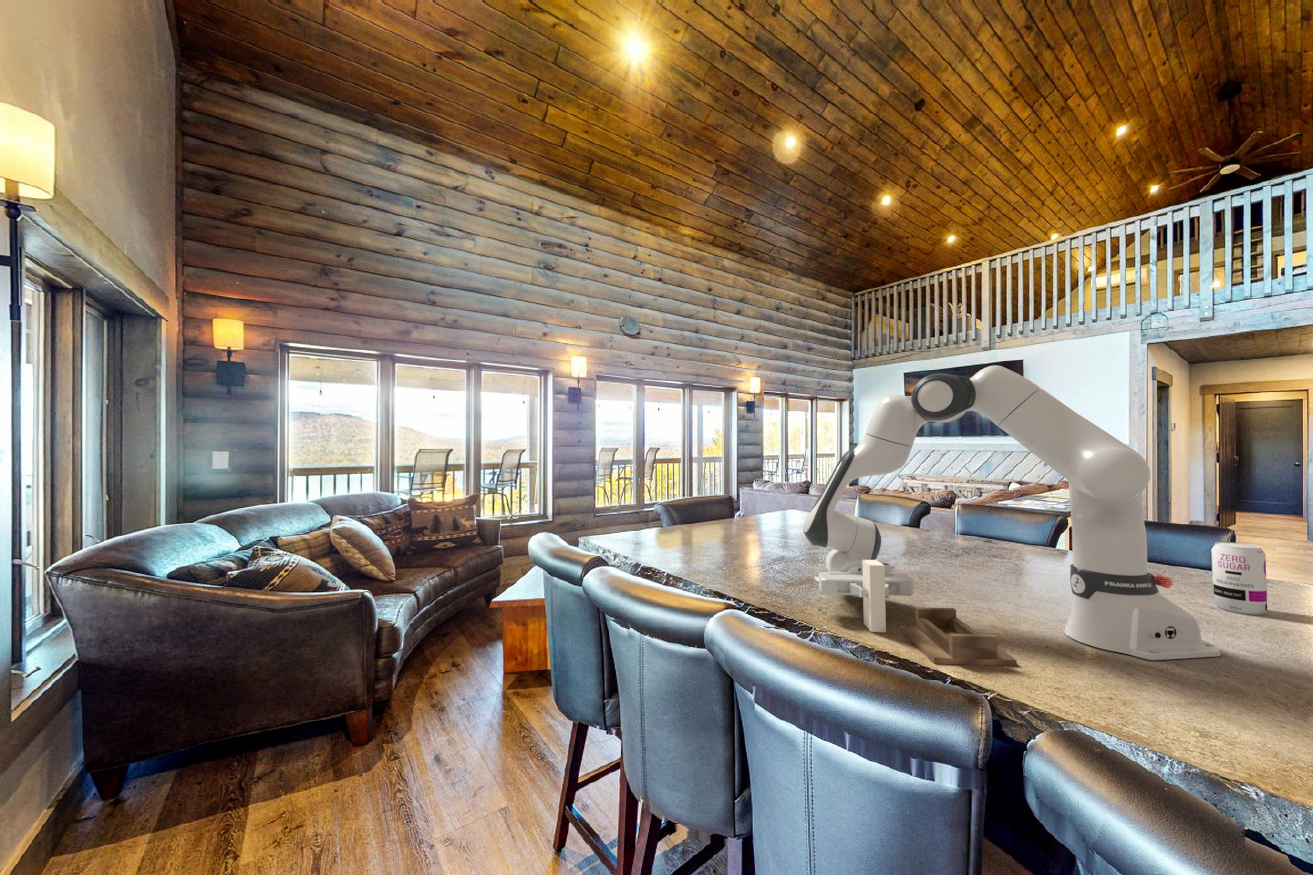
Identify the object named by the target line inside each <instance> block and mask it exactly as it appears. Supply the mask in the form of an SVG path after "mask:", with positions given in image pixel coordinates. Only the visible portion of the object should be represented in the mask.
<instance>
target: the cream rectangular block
mask: <svg viewBox="0 0 1313 875" xmlns="http://www.w3.org/2000/svg"><path fill="white" fill-rule="evenodd" d="M882 563H883V562H880V561H878V560H877V559H876V560H862V564H863V587H865V588H866V589H867V590H868V593H867V594H868V597H862V598H863V599H862V600H863V601H862V603H863V604H862V606H863V607H862V608H863V625H864V626H865V627H866V628H867V629H868V630H869V632H871V633H887V624H886V623H887V621H886V616H887V615H886V614H887V613H886V598H885V565H883V564H882Z"/></svg>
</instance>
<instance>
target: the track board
mask: <svg viewBox="0 0 1313 875" xmlns="http://www.w3.org/2000/svg"><path fill="white" fill-rule="evenodd" d="M914 608H915V610H914V611H915V612H914V613H915V626H911V625H900V626H899V631H900V632H901V633H902V634H903V635H904V636H905V637H906V638H907V639H908V640H909V641H910V642H911V643H912V644H913V645H914V646H915V647H916V648H917V649H918V650H919V651H921V652H922V653H923V655H925V656H926V657H927V658H928V659H929V660H930V662H932V663H933V664H936V665H937V664H938V665H939V664H940V665H942V664H943V665H972V666H974V665H977V666H979V665H980V666H983V665H984V666H1006V667H1007V666H1012V667H1013V666H1014V667H1017V665H1018V663H1017V662H1018V660H1017V659H1016V658H1014V657H1013V656H1012V655H1010V654H1009V653H1007V652H1006V651H1004V650H1003V649H1001V648H1000V647H999V646H998V636H996V635H995V634H989V633H986V634H985V633H979V632H978V631H976V630H975V629H974V628H972V627H970V626H969V625H968V624H966V623H965V622H963V621H962V620H961V619H959V618H957V610H956V609H955V608H954V607H923V606H922V607H921V606H920V607H919V606H918V607H916V606H915V607H914Z"/></svg>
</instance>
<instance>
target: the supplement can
mask: <svg viewBox="0 0 1313 875" xmlns="http://www.w3.org/2000/svg"><path fill="white" fill-rule="evenodd" d="M1210 551H1211V552H1210V553H1211V577H1212V578H1211V583H1212V604H1214V605H1215V606H1216V607H1217V608H1218V609H1220V610H1223V611H1226V612H1232V613H1235V614H1241V615H1251V616H1260V615H1264V614H1265V613H1267V612H1268V589H1267V588H1268V587H1267V584H1268V583H1267V562H1266V553H1265V552H1264V550H1263V548H1262V547H1261V546H1259V545H1256V544H1249V543H1241V542H1231V541H1230V542H1228V541H1224V542H1223V541H1217V542H1216V541H1215V543H1214V545H1213V547H1212V548H1211V550H1210Z"/></svg>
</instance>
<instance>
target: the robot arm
mask: <svg viewBox="0 0 1313 875" xmlns="http://www.w3.org/2000/svg"><path fill="white" fill-rule="evenodd" d="M968 412H974V413H978V414H980V415H982V416H984V417H985V418H987V419H988V420H990V422H992V423H993V424H995V425H996V426H997V428H999V429H1001V430H1002V431H1003V432H1005V433H1006V434H1007V435H1008V436H1010V437H1011V438H1012V439H1014V441H1016V442H1018V443H1019V444H1020V445H1021V446H1022V447H1024V449H1026V450H1028V451H1030V453H1032V454H1033V455H1035V457H1037V458H1038V459H1040V461H1042V462H1043V463H1044V464H1046V465H1047V466H1049V468H1051V469H1052V470H1054V471H1055V472H1057V473H1058V474H1059V476H1062V477H1063V479H1065V480H1066V481H1068V485H1069V486H1068V487H1069V488H1068V490H1069V503H1070V504H1069V506H1070V508H1069V509H1070V521H1071V540H1072V541H1071V544H1072V549H1071V550H1072V563H1071V564H1070V571H1069V573H1070V574H1069V576H1070V579H1069V580H1070V588H1071V591H1072V592H1071V593H1072V594H1071V603H1070V604H1071V605H1070V609H1069V611H1070V612H1069V615H1068V620H1067V622H1066V626H1065V628H1064V633H1065V634H1066V636H1067V637H1069V638H1071V639H1073V640H1075V641H1076V642H1080V643H1082V644H1085V645H1088V646H1091V647H1095V648H1098V649H1102V650H1106V651H1110V652H1116V653H1117V652H1118V653H1122V654H1126V655H1130V656H1133V657H1137V658H1140V659H1143V660H1150V661H1161V660H1164V661H1165V660H1177V659H1178V660H1179V659H1180V660H1181V659H1194V658H1195V659H1196V658H1210V657H1211V658H1212V657H1220V656H1221V650H1220V649H1219V648H1218V647H1217V646H1215V645H1213V644H1212V643H1210V642H1208V641H1206V640H1204V639H1202V636H1201V630H1200V626H1199V624H1198V621H1197V620H1196V618H1195V617H1194V616H1193V615H1192V614H1191V613H1190V612H1187V611H1186V610H1185V609H1183V608H1182V607H1180V606H1178V604H1176V603H1175V602H1173V601H1171V600H1170V599H1168V597H1166V596H1164V595H1163V594H1162V593H1160V591H1159V589H1158V587H1157V586H1160V587H1162V588H1165V589H1170V588H1171V587H1172V586H1173V584H1174V582H1173V579H1172V578H1170V577H1167V576H1163V575H1160V574H1158V575H1155V576H1154V574H1152V573H1150V572H1149V571H1148V544H1147V528H1146V524H1145V520H1144V511H1143V505H1142V497H1141V494H1142V493H1143V492H1144V491H1145V490H1146V488H1147V487H1148V484H1149V483H1150V480H1151V470H1150V469H1151V468H1150V467H1149V464H1148V462H1147V460H1146V459H1145V458H1144V457H1143V456H1142V455H1141V454H1140V453H1138V452H1137V451H1135V450H1134V449H1132V448H1131V447H1130V446H1128V445H1127V444H1125V443H1124V442H1123V441H1120V439H1118V438H1116V437H1114V436H1113V435H1112V434H1110V433H1109V432H1107V431H1106V430H1104V429H1103V428H1101V427H1099V426H1098V425H1096V424H1094V423H1093V422H1091V421H1090V420H1089V419H1087V418H1085V417H1084V416H1082V415H1081V414H1079V413H1078V412H1076V411H1074V410H1073V409H1072V408H1070V407H1069V406H1067V405H1066V404H1064V402H1062V401H1061V400H1059V399H1058V398H1056V397H1055V396H1053V395H1051V394H1050V393H1049V392H1047V391H1046V390H1045V389H1043V388H1041V386H1039V385H1037V384H1036V383H1034V382H1033V381H1031V380H1029V379H1028V378H1026V377H1024V376H1022V375H1021V374H1019V373H1017V372H1015V371H1013V370H1011V369H1008V368H1007V367H1004V366H1003V365H998V364H997V365H996V364H995V365H989V366H987V367H984V368H982V369H980V370H979V371H978V372H976V373H975V374H974V375H972V376H971V377H970V378H969V377H968V376H963V375H956V374H951V373H945V372H944V373H941V372H940V373H939V372H938V373H932V374H931V373H930V374H929V375H926V376H924V377H922V378H921V379H920V380H918V381H917V383H916V384H914V386H913V388H912V391H911V395H909V396H907V395H902V394H891V395H887V396H885V397H883V398H882V399H881V400H880V401H879V403H878V404H877V406H876V408H875V410H874V412H873V414H872V416H871V418H870V420H869V423H868V426H867V428H866V431H865V433H864V437H863V438H862V440H861V441H860V443H859V444H858V445H857V446H856V447H854V449H851V450H848V451H845V452H844V453H843V455H842V456H841V457H840V459H839V461H838V462H837V463H836V466H835V467H834V469H833V470H832V473H831V475H830V477H829V478H828V480H827V482H826V484H825V485H824V487H823V490H822V491H821V493H820V494H819V497H818V499H817V500H816V502H815V503H814V505H813V507H812V508H811V509H810V511H809V513H808V515H807V516H806V518H805V519H804V525H803V534H804V536H805V538H806V539H807V540H808V542H809V543H810V544H811V545H812V546H816V547H821V548H827V549H832V550H830V551H829V552H827V555H826V557H825V566H826V570H827V571H821V572H819V573H818V575H817V576H816V575H814V576H813V581H814V582H815V583H816V584H817V583H818V589H819V591H820V593H821V594H823V595H827V596H828V595H829V596H830V595H831V596H832V595H833V596H834V595H835V596H847V595H848V596H851V597H855V598H863V597H868V594H867V593H868V590H867V589H866V588H865V587H863V564H862V560H877V558H878V555H879V554H880V549H881V546H882V536H881V532H880V531H879V528H878V526H877V523H875V522H874V521H873V520H870V519H867V518H864V517H863V518H862V517H859V516H856V515H851V514H847V513H844V512H840V511H838V510H835V508H836V506H837V505H838V503H839V501H840V499H841V497H842V496H843V493H844V492H845V490H846V489H847V486H848V485H849V484H850V483H851V482H853V481H854V480H857V479H859V478H864V477H873V476H874V477H875V476H883V475H885V476H886V475H888V474H892V473H894V472H897V471H898V470H900V469H901V468H903V467H904V466H905V464H906V462H907V461H908V459H909V458H910V454H911V451H912V448H913V445H914V442H915V440H916V436H917V434H918V432H919V430H920V429H921V427H922V426H923V425H925V424H947V423H953V422H956V421H959V420H960V419H962V418H964V416H966V414H967V413H968ZM881 563H882V564H883V565H885V599H887V598H888V599H889V598H890V596H900V597H901V596H905V597H906V596H908V597H911V596H913V595H914V592H915V582H914V579H913V577H911V576H910V575H908V574H907V573H905V572H904V571H901V570H899V569H896V567H895V565H894V564H893V563H886V562H881Z"/></svg>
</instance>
